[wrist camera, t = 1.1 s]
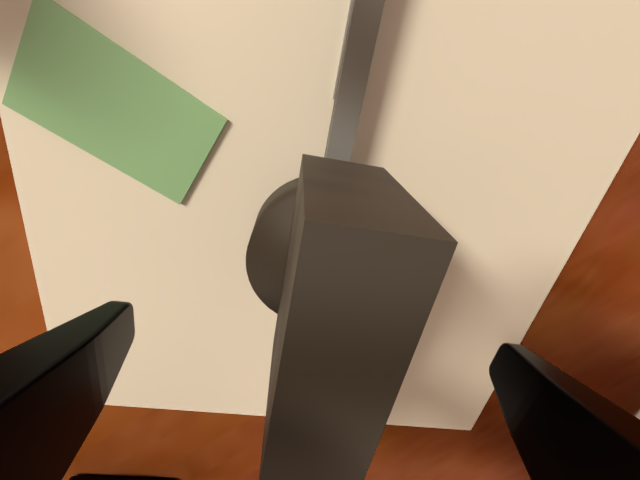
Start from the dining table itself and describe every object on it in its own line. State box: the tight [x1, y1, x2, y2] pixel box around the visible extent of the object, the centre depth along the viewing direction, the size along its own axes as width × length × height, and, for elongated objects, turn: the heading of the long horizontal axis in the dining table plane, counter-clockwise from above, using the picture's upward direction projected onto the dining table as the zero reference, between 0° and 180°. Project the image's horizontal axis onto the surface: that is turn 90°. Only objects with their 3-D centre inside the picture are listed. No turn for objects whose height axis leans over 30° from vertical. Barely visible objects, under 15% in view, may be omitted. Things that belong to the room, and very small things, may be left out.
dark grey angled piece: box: [246, 0, 458, 480], centre depth 8 cm, size 13×5×7 cm, turn 170°
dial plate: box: [0, 0, 640, 430], centre depth 13 cm, size 22×22×1 cm
